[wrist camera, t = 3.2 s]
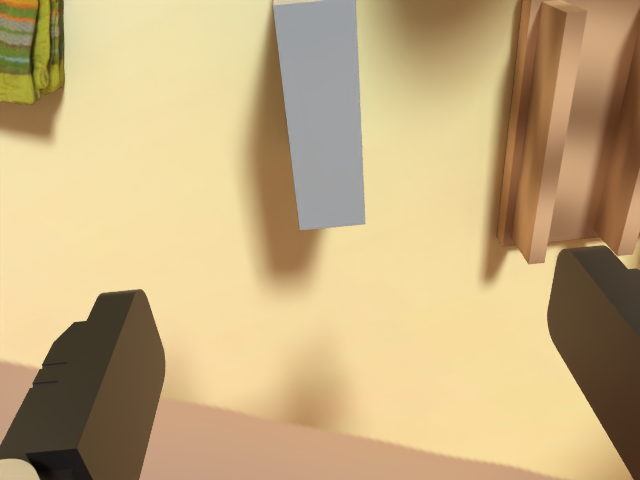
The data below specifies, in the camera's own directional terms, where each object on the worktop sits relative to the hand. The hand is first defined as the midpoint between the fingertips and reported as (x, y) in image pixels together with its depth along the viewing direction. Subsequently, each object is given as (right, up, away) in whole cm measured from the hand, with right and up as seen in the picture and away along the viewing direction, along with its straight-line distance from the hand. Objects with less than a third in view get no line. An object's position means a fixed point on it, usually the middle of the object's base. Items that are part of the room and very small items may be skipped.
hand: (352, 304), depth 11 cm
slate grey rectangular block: (-1, +7, +11) cm, 13 cm away
